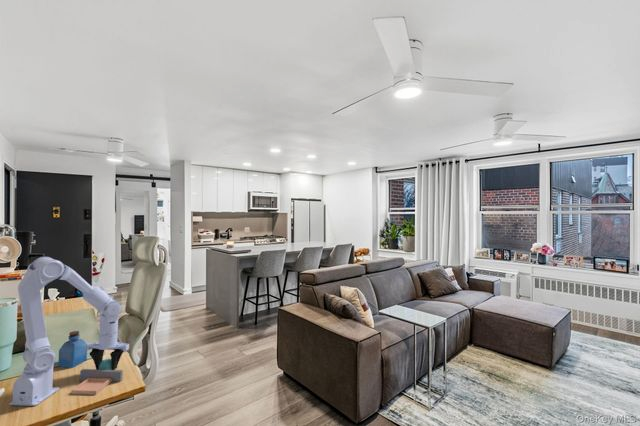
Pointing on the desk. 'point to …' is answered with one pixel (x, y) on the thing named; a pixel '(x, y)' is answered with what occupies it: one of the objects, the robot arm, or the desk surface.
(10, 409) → the desk surface
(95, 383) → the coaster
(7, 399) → the desk surface
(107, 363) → the ball
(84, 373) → the wall
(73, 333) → the perfume bottle
